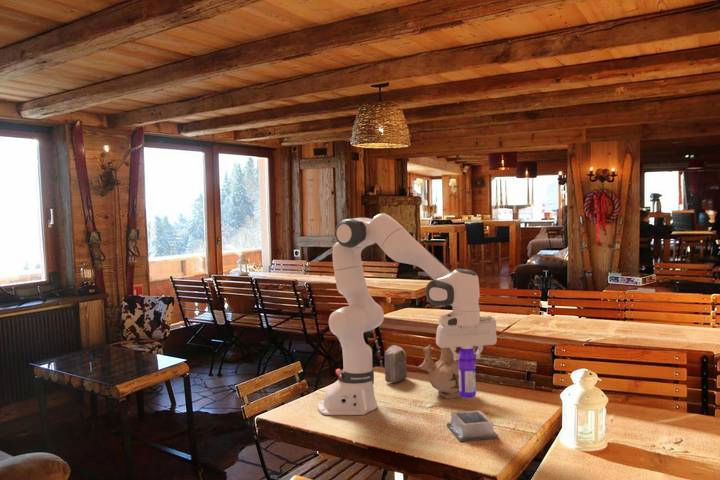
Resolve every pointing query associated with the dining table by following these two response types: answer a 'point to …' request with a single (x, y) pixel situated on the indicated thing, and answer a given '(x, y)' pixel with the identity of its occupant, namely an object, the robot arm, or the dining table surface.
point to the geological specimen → (395, 364)
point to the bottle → (467, 372)
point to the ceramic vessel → (443, 372)
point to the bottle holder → (471, 426)
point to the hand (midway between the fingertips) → (466, 359)
